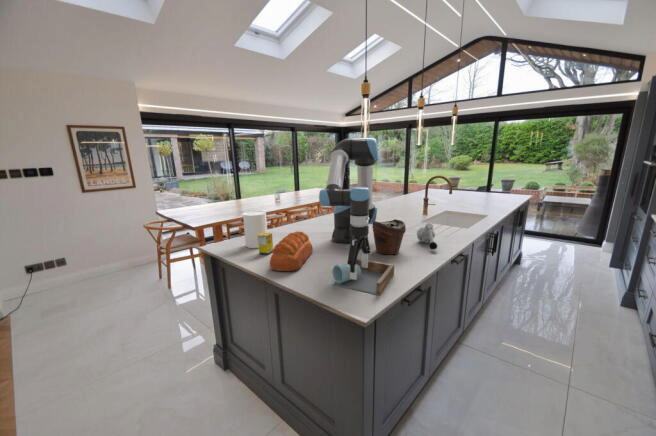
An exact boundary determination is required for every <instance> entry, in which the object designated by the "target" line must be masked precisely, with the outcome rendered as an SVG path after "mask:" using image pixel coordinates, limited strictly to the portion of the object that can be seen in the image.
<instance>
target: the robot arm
mask: <svg viewBox="0 0 656 436" xmlns="http://www.w3.org/2000/svg"><path fill="white" fill-rule="evenodd" d="M378 151H379V149H378V143H377V139H376V138H374V137H361V138H358V137H356V138H345V139H343V140H341V141H339V142H338V143H337V144H335V146H334V147H333V148H332V150H331V153H330V158H329V159H330V161H331V162H330V167H329V170H328V171H329V172H328V176H327V181H326V185H325V186H326V187H325V188H323V189H320V191H319V194H318V200H319V204H320V206H322V207H334V208H333V223H334V225H333V227H334V228H333V231H332V234H331V241H332V242H335V243H339V244H349V245H350V246H349V251H348V258H347V262H346V263H347V264H346V265H350V279H354V280H356V279H357V264H356V261H357V259H358V257H359V253H360V250H361V252H362V253H361V259H362V267H364V268H368V260H369V254H371V251H370V250H371V247H370V242H369V233H370V230H369V228H370V227H369V226H370V225H373V222H374V221H376V220H377V213H378V206H377V205H376V203H375V202H374V201H373V187H374V186H373V182H374V181H373V179H374V178H373V174H374V173H373V172H374V171H373V169H374V168H373V167H374V165H376V162H377V161H379V152H378ZM349 161H351V162H353V161H354V166H356V167H357V169H356V170H357V171H356V172H357V186H355V187H351V189H349V188H348V189H346V188H345V189H343V185H344V179H345V171H346V165H347V163H348V162H349ZM376 222H377V221H376Z"/></svg>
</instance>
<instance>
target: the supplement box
mask: <svg viewBox="0 0 656 436" xmlns="http://www.w3.org/2000/svg"><path fill="white" fill-rule="evenodd" d="M258 245H259V248H258V252H259V254H260V255H270V254H271V253H273V249H274V240H273V233H271V232H267V233H261V234H259V235H258Z"/></svg>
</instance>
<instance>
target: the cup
mask: <svg viewBox="0 0 656 436" xmlns="http://www.w3.org/2000/svg"><path fill="white" fill-rule="evenodd" d="M360 274H361V269H360V267H359V266H358V265H357V277H359V276H360ZM332 277H333V281H334V283H335V282H336V283H338V284H340V283H343V282H345V281H348V280H351V279H350V265H348V264H335V265H333V268H332Z"/></svg>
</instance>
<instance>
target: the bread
mask: <svg viewBox="0 0 656 436" xmlns="http://www.w3.org/2000/svg"><path fill="white" fill-rule="evenodd" d="M309 239H310V238H309V235H308V234H306V233H305V232H304V231H294V232H290V233H289V234H287V235H286V236H284V237H283V238H282V239H281V240H280V241H278V243H277V244H275V245H274V246H273V252H272V255H271V256H270V261H269V268H270V269H271V270H273V271H277V272H278V271H279V272H292V271H297V270H299V269H300V268H301V267H302V266H303V264H304V263H306V261H307V260H308V257H310V256H311V255H312V252H313V250H314V248H313V245H312V243H311V241H310V240H309Z"/></svg>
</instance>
